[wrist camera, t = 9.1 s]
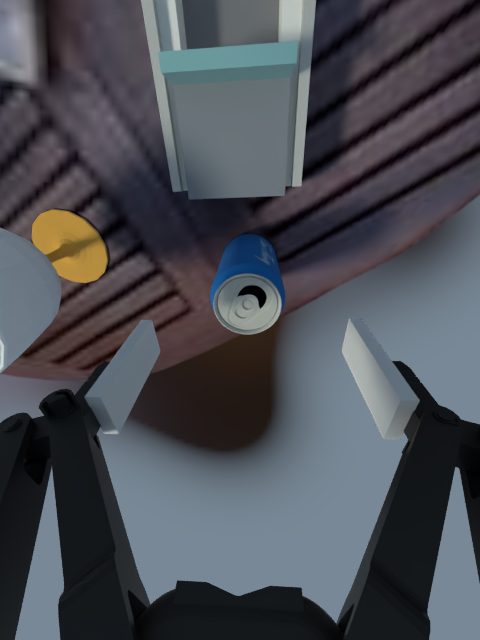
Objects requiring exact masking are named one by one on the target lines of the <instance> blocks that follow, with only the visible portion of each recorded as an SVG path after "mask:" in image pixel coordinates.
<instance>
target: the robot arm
mask: <svg viewBox="0 0 480 640" xmlns="http://www.w3.org/2000/svg"><path fill="white" fill-rule="evenodd" d="M342 353H343V355H344V357H345V359H346V362H347V364H348V366H349V368H350V370H351V372H352V374H353V376H354V378H355V381H356V383H357V385H358V387H359V389H360V391H361V393H362V395H363V397H364V399H365V402H366V404H367V406H368V408H369V410H370V412H371V414H372V416H373V419H374V421H375V423H376V425H377V427H378V429H379V431H380V433H381V435H382V437H383V439H390V440H391V439H392V440H400V439H401V437H402V435H403V433H405V435H406V436H407V438H408V442H407V444H406V445H405V447H404V449H403V451H402V457H401V459H400V462H399V465H398V467H397V470H396V473H395V475H394V478H393V481H392V483H391V486H390V488H389V491H388V493H387V496H386V499H385V501H384V504H383V507H382V509H381V512H380V515H379V517H378V520H377V522H376V525H375V528H374V530H373V533H372V535H371V538H370V541H369V543H368V546H367V549H366V551H365V554H364V556H363V559H362V562H361V564H360V567H359V570H358V572H357V575H356V578H355V580H354V583H353V585H352V588H351V590H350V592H349V594H348V597H347V599H346V601H345V603H344V606H343V608H342V610H341V613H340V616H339V618H338V621H337V623H335V622H334V620H333V619H332V618H331V617H330V616H329V615H328V614H327V613H326V612H325V611H324V610H323V609H322V608H321V607H320V606H318V605H317V604H316V603H314V602H313V601H311V600H309V599H308V598H306V597H304V596H302V588H297V587H279V586H269V587H266V588H263V589H260V590H257V591H254V592H251V593H247V594H244V595H242V596H235V595H233V594H231V593H229V592H227V591H224V590H222V589H220V588H218V587H216V586H214V585H211V584H210V583H207V582H194V581H177V584H176V589H174V590H171V591H169V592H167V593H166V594H164V595H162V596H161V597H159V598H158V599H156V600H155V601H154V602H153V603H152V604H151V605H150V602H149V599H148V597H147V593H146V591H145V588H144V586H143V584H142V582H141V579H140V577H139V574H138V571H137V567H136V564H135V561H134V557H133V554H132V550H131V547H130V543H129V540H128V537H127V533H126V530H125V526H124V523H123V519H122V516H121V513H120V509H119V506H118V502H117V499H116V496H115V492H114V489H113V485H112V482H111V478H110V475H109V472H108V468H107V465H106V462H105V458H104V455H103V451H102V448H101V445H100V441H99V438H98V436H97V434H96V433H97V432H98V430H99V428H100V427H101V428H102V430H103V432H104V434H119V432H120V431H121V429H122V427H123V424H124V423H125V421H126V419H127V416H128V415H129V413H130V411H131V409H132V407H133V405H134V403H135V401H136V399H137V397H138V395H139V393H140V391H141V389H142V387H143V385H144V383H145V381H146V379H147V377H148V375H149V373H150V371H151V369H152V367H153V365H154V363H155V361H156V359H157V357H158V355H159V354H160V348H159V344H158V341H157V337H156V333H155V330H154V326H153V322H152V320H141V321H140V322H139V324H138V325H137V326H136V328H135V329H134V330H133V332H132V333H131V334H130V336H129V337H128V338H127V340H126V341H125V343H124V344H123V345H122V347H121V348H120V349H119V351H118V352H117V353H116V355H115V356H114V357H113V359H112V360H111V362H103V363H102V364H101V365H99V366H98V367H97V368H96V369H95V370H94V371H93V373H92V374H91V376H90V377H89V378H88V379H87V381H86V382H85V383H84V384H83V385H82V387H81V388H80V389H79V391H78V392H77V393H76V394H75V396H74V394H73V392H72V391H71V390H68V389H61V390H58V391H55V392H53V393H51V394H49V395H48V396H47V397H46V398H44V399H43V400H42V402H41V403H40V405H39V409H40V410H41V411H42V413H43V414H44V416H41V417H37V418H33V419H32V418H31V417H30V416H29V415H28V414H27V413H18V414H15V415H13V416H10V417H9V418H7V419H5V420H4V421H2V422H1V423H0V640H15V635H16V631H17V626H18V621H19V616H20V612H21V607H22V602H23V598H24V593H25V588H26V583H27V579H28V574H29V570H30V565H31V561H32V556H33V551H34V546H35V542H36V537H37V532H38V528H39V523H40V518H41V514H42V509H43V504H44V499H45V495H46V490H47V486H48V481H49V476H50V472H51V467H52V470H53V479H54V489H55V498H56V508H57V518H58V527H59V536H60V547H61V557H62V566H63V577H64V592H63V593H62V595H61V596H60V599H59V604H58V611H59V612H58V614H59V627H60V639H61V640H429V635H430V620H429V617H428V615H427V608H428V602H429V597H430V592H431V587H432V582H433V576H434V572H435V567H436V561H437V556H438V551H439V546H440V541H441V536H442V531H443V526H444V520H445V516H446V511H447V506H448V500H449V495H450V490H451V485H452V480H453V475H454V470H455V467H458V468H459V469H460V474H461V480H462V486H463V491H464V497H465V503H466V508H467V514H468V519H469V525H470V531H471V536H472V542H473V547H474V553H475V559H476V565H477V570H478V575H479V582H480V424H476V423H472V422H468V421H464V420H461V419H460V418H459V416H458V415H456V414H455V413H454V412H453V411H451V410H449V409H447V408H446V407H442V406H440V405H438V404H437V402H436V401H435V400H434V398H433V397H432V396H431V395H430V393H429V392H428V391H427V389H426V388H425V387H424V386H423V384H422V383H420V380H419V379H418V378H417V377H416V375H415V374H414V373H413V371H412V370H411V369H410V368H409V367H408V366H407V365H405V364H404V363H403V362H401V361H391V359H390V358H389V357H388V355H387V354H386V352H385V351H384V350H383V348H382V347H381V345H380V344H379V343H378V341H377V340H376V338H375V337H374V335H373V334H372V332H370V330H369V328H368V327H367V325H366V324H365V323H364V321H363V320H362V318H349V321H348V326H347V330H346V334H345V339H344V343H343V348H342Z"/></svg>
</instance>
